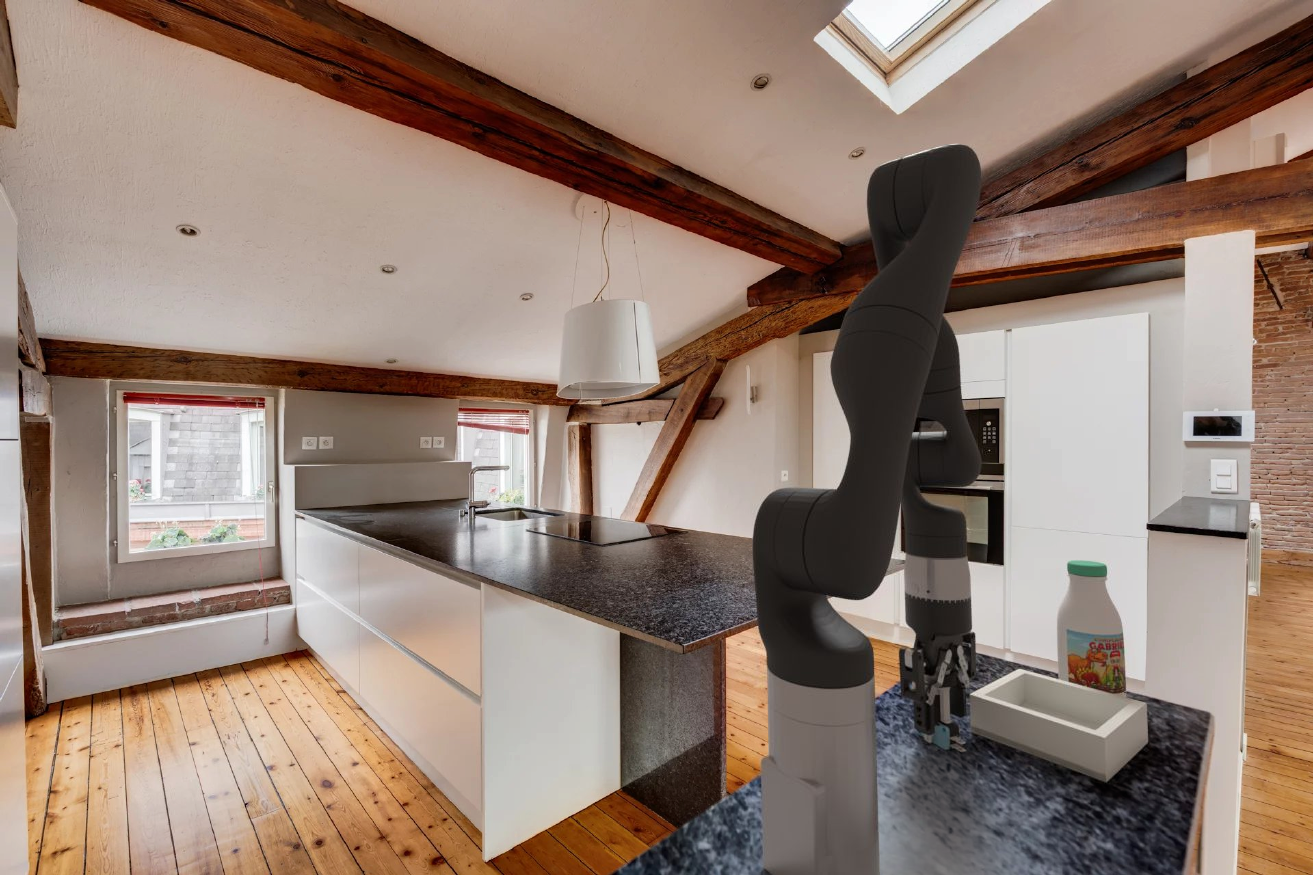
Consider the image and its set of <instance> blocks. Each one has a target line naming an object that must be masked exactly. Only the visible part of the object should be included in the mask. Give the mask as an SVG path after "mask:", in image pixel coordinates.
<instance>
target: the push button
mask: <svg viewBox="0 0 1313 875" xmlns="http://www.w3.org/2000/svg"><path fill="white" fill-rule="evenodd" d="M951 670H952V669H951ZM945 672H946V674H945V675H944V679H943V683H942V686H941V687H938V688H937V690H936V694H935V698H934V702H933V704H934V719H935V733H934V734H932V735H926V734H924V733H921V732H919V731H917V730H916V732H917V734H918V735H919V736H920V737H922V738H924V740H925V741H926V742H928V743H929V744H931V743H933V744H935V745H936V746H938V747H939V748H941V749H943V750H945V751H947V750H950V749H951V750H952V749H955V750H957V751H959V752H961V753H964V752H967V749H965V748H963V747H961V745H964V744H966V741H965V740H963V739H961V738H960V726H959V725H958V724H957V723H955V722H953V721H952V719H951V714H950V701H949V690H950V687H953V686H955V685H956V677H958V675H959V672H958V670H957V669H956V668H954V670H953V672H950V670H948V671H945ZM924 674H925V675H928V676H934V674H931V673H927V672H926V671H925V670H924ZM927 688H928V683H925V693H926V692H927Z"/></svg>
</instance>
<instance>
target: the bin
mask: <svg viewBox="0 0 1313 875" xmlns="http://www.w3.org/2000/svg"><path fill="white" fill-rule="evenodd" d="M1147 708H1148V706H1147V702H1144V701H1140V700H1136V699H1132V698H1129V697H1127V696H1126V697H1122V696H1119V695H1115V694H1111V693H1108V692H1104V691H1100V690H1096V689H1093V688H1089V687H1085V686H1082V685H1078V684H1074V683H1070V682H1067V681H1063V680H1059V678H1055V677H1051V676H1048V675H1044V674H1040V673H1037V672H1033V671H1029V670H1026V669H1022V668H1017V669H1015V670H1014V671H1012V672H1010V673H1008V674H1006V675H1004V676H1002V677H1001V678H999V679H996V680H995V681H993V682H990V683H988V684H986V685H985V686H983V687H981V688H979V689H977V690H975V691H973V692H970V693H969V713H970V714H969V717H970V718H969V719H970V720H969V721H970V733H973V734H976V735H978V736H981V737H984V738H987V739H989V740H991V741H994V742H997V743H1000V744H1002V745H1005V746H1007V747H1010V748H1013V749H1015V750H1018V751H1021V752H1023V753H1024V752H1025V753H1026V754H1029V755H1032V756H1034V757H1038V758H1040V759H1041V760H1045V761H1048V762H1051V763H1053V764H1056V765H1058V766H1061V767H1064V768H1066V769H1068V770H1072V771H1074V772H1077V773H1079V774H1083V775H1084V776H1085V775H1086V776H1088V777H1090V778H1093V779H1096V780H1098V781H1101V782H1104V783H1105V784H1106V783H1107V782H1108V781H1110V779H1112V778H1113V777H1115V775H1116V774H1117V773H1119V771H1120V770H1121V769H1122V768H1123V767H1124V766H1125V765H1126V764H1127V763H1128V762H1129V761H1130V760H1132V759H1133V758H1134V757H1135V756H1136V755H1137V754H1138V753H1139V752H1140V751H1141V750H1143V748H1144V747H1145V746H1147V744H1148V743H1149V733H1148V732H1149V731H1148V729H1149V728H1148V709H1147Z"/></svg>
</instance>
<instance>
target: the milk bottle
mask: <svg viewBox="0 0 1313 875" xmlns="http://www.w3.org/2000/svg"><path fill="white" fill-rule="evenodd" d="M1066 567H1067V568H1066V569H1067V576H1068V578H1069V582H1068V584H1069V585H1068V587H1067V591H1066V593H1065V595H1064V597H1063V599H1062V601H1061V603H1060V605H1059V607H1058V609H1057V610H1058V612H1057V617H1056V644H1057V646H1056V648H1057V650H1056V651H1057V671H1058V673H1057V676H1058V678H1057V679H1059V680H1063V681H1067V682H1070V683H1074V684H1078V685H1082V686H1085V687H1089V688H1093V689H1096V690H1100V691H1104V692H1108V693H1111V694H1115V695H1119V696H1122V697H1126V698H1127V683H1126V682H1127V681H1126V680H1127V679H1126V659H1125V658H1126V656H1125V641H1124V640H1125V638H1124V627H1123V622H1122V619H1121V615H1120V613H1119V612H1118V610H1117V608H1116V606H1115V603H1114V602H1113V600H1112V598H1111V596H1110V594H1109V592H1108V588H1107V586H1106V582H1107V580H1108V577H1107V576H1108V566H1107V564H1105V563H1102V562H1099V561H1093V560H1078V559H1076V560H1069V561H1067V564H1066ZM1084 681H1085V682H1084ZM1093 683H1094V684H1093ZM1099 685H1101V686H1099ZM1103 686H1106V687H1103ZM1111 688H1114V689H1111ZM1117 690H1119V691H1117ZM1124 692H1126V693H1124Z"/></svg>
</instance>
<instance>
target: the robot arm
mask: <svg viewBox="0 0 1313 875" xmlns="http://www.w3.org/2000/svg"><path fill="white" fill-rule="evenodd" d="M981 190H982V169H981V162H980V160H979V157H978V155H977V152H975V151H974V150H973V148H971V147H970V146H968V145H967V144H964V143H952V144H945V145H940V146H937V147H934V148H930V149H926V150H922V151H919V152H916V153H913V154H909V155H906V156H903V157H899V158H896V159H893V160H890V161H887V162H884V163H881V164H880V165H879V166H877V167H876V168H875V169H874V170H873V172H872V173H871V175H870V177H869V181H868V184H867V191H866V209H867V218H868V219H867V220H868V227H869V230H870V236H871V240H872V245H873V250H874V255H875V258H876V259H875V260H876V264H877V268H878V273H877V274H876V275H875V276H874V277H873V278H872V279H871V280H870V281H869V282H868V283H867V284H866V285H865V287H863V289H862V290H860V292H859V293H858V295H857V296H856V297H855V298H854V299H853V301H852V302H851V303H850V305H849V307H848V309H847V311H846V312H845V315H844V317H843V320H842V324H841V326H840V330H839V332H838V335H837V338H836V342H835V345H834V348H833V352H832V355H831V359H830V375H831V382H832V386H833V389H834V393H835V395H836V397H837V400H838V403H839V405H840V407H841V411H843V415H844V417H845V420H846V422H847V424H848V425H847V426H848V430H849V434H850V439H849V440H850V443H849V450H848V456H847V461H846V466H845V469H844V473H843V476H842V477H841V481H840V483H839V484H838V486H837V488H836V489H835V488H816V487H812V488H811V487H783V488H779V489H776V490H774V491H772V492H771V493H769V494H768V495H767V496H766V497H765V498H764V500H763V501H762V503H761V504H760V507H759V509H758V511H757V512H756V513H757V514H756V517H755V521H754V525H753V532H752V533H753V534H752V568H753V578H754V590H755V591H754V592H755V605H756V618H757V619H756V620H757V629H758V633H759V636H760V638H761V641H762V644H763V646H764V648H765V653H766V680H767V681H766V682H767V685H766V687H767V688H766V689H767V727H768V728H767V732H768V733H767V734H768V736H767V737H768V739H767V742H768V755H765V756H764V757H763V758H761V760H760V777H761V779H760V780H761V781H760V784H761V825H762V826H761V829H762V830H761V831H762V867H763V869H765V870H766V871H767V872H768V873H770V874H771V875H881V874H880V873H881V872H880V871H881V869H880V867H881V866H880V829H879V798H878V797H879V796H878V795H879V793H878V761H877V758H878V757H877V725H876V724H877V722H876V720H877V719H876V717H877V716H876V685H875V683H876V681H875V654H874V648H873V645H872V642H871V641H870V639H869V638H868V636H866V634H865V633H863V632H862V631H861V630H859V629H858V628H857V627H855V626H854V625H852V624H851V623H850V622H848V621H847V620H846V619H845V618H844V617H843V616H842V615H841V614H839V612H837V610H836V609H835V608H834V607H833V605H832V604H831V602H830V601H829V599H828V597H833V598H838V599H843V600H850V601H861V600H862V601H863V600H865V599H867V598H869V597H871V596H872V595H874V593H875V592H876V591H877V590H878V589H879V588H880V586H881V584H882V583H883V581H884V578H885V577H886V574H887V572H888V569H889V567H890V563H891V560H892V556H893V552H894V547H895V540H896V534H897V530H898V524H899V516H900V509H902V515H903V523H904V540H905V543H904V544H905V545H904V546H905V547H904V548H905V556H904V557H905V558H904V566H903V567H904V568H903V573H904V574H903V579H904V582H903V583H904V584H903V586H904V610H905V611H904V613H905V614H904V618H905V624H906V625H907V626H908V627H909V628H911V630H913V632H914V633H915V636H914V644H913V647H911V648H907V647H903V646H901V647H899V650H898V661H899V662H898V664H899V682H900V683H899V684H900V685H899V686H900V694H901V695H900V696H901V697H902V698H905V699H908V700H911V701H912V702H913V724H914V728H915V730H916V732H917V731H919V732H921V733H924V734H926V735H932V734H934V733H935V719H934V704H933V702H934V698H935V694H936V690H937V688H938V687H941V686H942V683H943V679H944V675H945V674H946V672H945V671H948V670H950V672H953V670H954V668H956V669H957V670H958V672H959V675H958V677H956V685H955V686H953V687H950V690H949V701H950V715H952V716H955V717H958V718H964V717H966V716H967V714H968V712H967V709H968V708H967V688H968V687H969V685H970V679H973V680H974V679H975V678H976V677H977V657H976V656H977V652H976V650H977V646H976V643H977V642H976V638H977V637H976V633H975V632H974V631H972V630H973V618H972V617H973V613H972V586H971V585H972V584H971V579H972V578H971V572H970V564H969V560H968V537H967V536H968V535H967V530H968V529H967V520H966V516H965V513H964V512H963V511H962V510H960V509H958V508H955V507H953V506H948V505H942V504H938V503H934V502H931V501H929V500H927V499H926V497H924V496H923V495H922V493H921V490H920V488H922V487H923V488H966V487H970V486H971V485H972V484H974V483H975V482H976V481H977V479H978V477H979V476H980V473H981V470H982V456H981V453H980V449H979V446H978V444H977V442H976V439H975V437H974V435H973V432H972V429H971V427H970V423H969V421H968V417H967V415H966V411H965V408H964V402H963V395H962V394H963V392H962V382H961V380H962V379H961V377H962V375H961V361H960V360H961V359H960V351H959V350H960V349H959V343H958V339H957V337H956V335H955V333H954V330H953V328H952V326H951V324H950V323H949V321H948V320H947V318H946V317H945V316H944V312H945V307H946V302H947V298H948V294H949V291H950V288H951V285H952V284H951V283H952V280H953V277H954V273H955V271H956V268H957V265H958V263H959V260H960V257H961V255H962V252H963V250H964V247H965V244H966V243H967V239H968V236H969V234H970V231H971V229H972V226H973V222H974V220H975V217H976V214H977V210H978V206H979V203H980V197H981ZM917 418H921V419H922V418H923V419H926V420H927V419H928V420H931V421H935V422H937V423H939V425H940V426H942V427H943V428H944V429H945V430H944V431H921V432H919V431H917V432H916V431H915V432H914V430H915V425H916V420H917ZM966 660H967V661H966ZM951 669H952V670H951ZM924 670H925V671H926V672H927V673H931V674H934V676H928V675H925V674H924ZM910 682H912V683H911V686H910ZM925 683H928V688H927V692H926V693H925Z"/></svg>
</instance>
